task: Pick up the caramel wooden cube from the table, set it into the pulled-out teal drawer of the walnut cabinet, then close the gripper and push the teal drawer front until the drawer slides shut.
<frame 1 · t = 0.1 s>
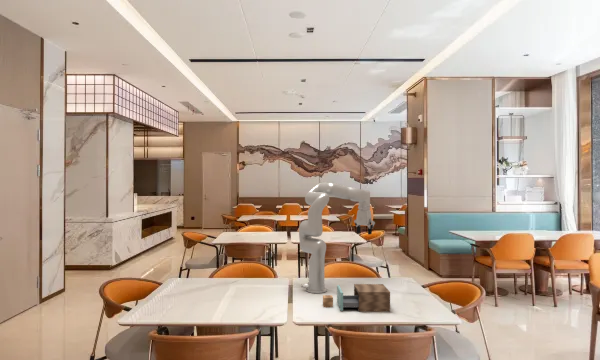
hand: (364, 233, 277), 31 cm above the table, tool pointing down, fingers open, 9 cm apart
teal drawer: (353, 297, 215), point 5 cm above the table, slide at 8.0 cm
cabinet: (371, 306, 216), on the table
cube: (327, 305, 217), on the table
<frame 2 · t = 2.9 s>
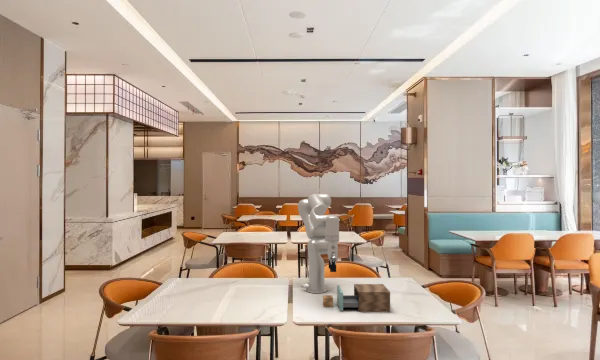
hand: (332, 270, 221), 18 cm above the table, tool pointing down, fingers open, 9 cm apart
nothing on the table moved.
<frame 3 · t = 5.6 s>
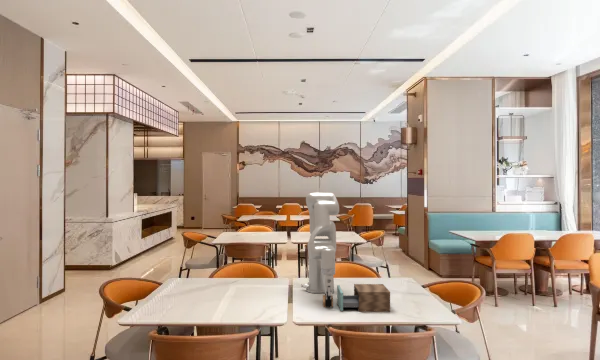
hand: (327, 304, 217), 0 cm above the table, tool pointing down, fingers closed on cube, 5 cm apart
cube: (327, 305, 217), on the table, touching gripper
everything else where it was.
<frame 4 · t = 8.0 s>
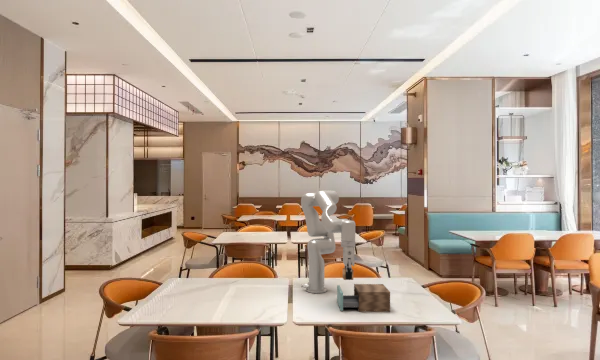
hand: (347, 277, 215), 15 cm above the table, tool pointing down, fingers closed on cube, 4 cm apart
cube: (347, 278, 215), point 15 cm above the table, touching gripper
everything else where it was.
when the fingers open (4 cm above the table, at t = 10.4 s): cube drops 1 cm, resting on teal drawer.
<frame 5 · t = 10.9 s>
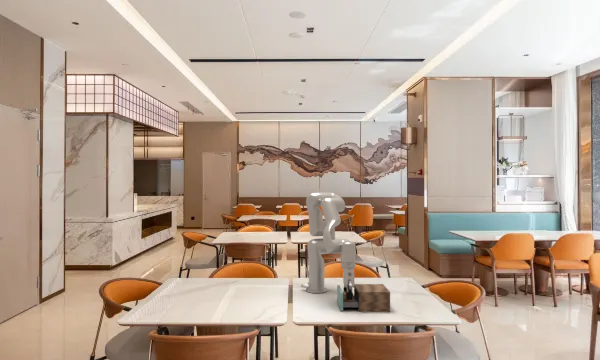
hand: (348, 297, 215), 5 cm above the table, tool pointing down, fingers open, 9 cm apart
teal drawer: (353, 297, 215), point 5 cm above the table, slide at 8.0 cm, touching cube
cube: (347, 302, 215), point 2 cm above the table, touching teal drawer
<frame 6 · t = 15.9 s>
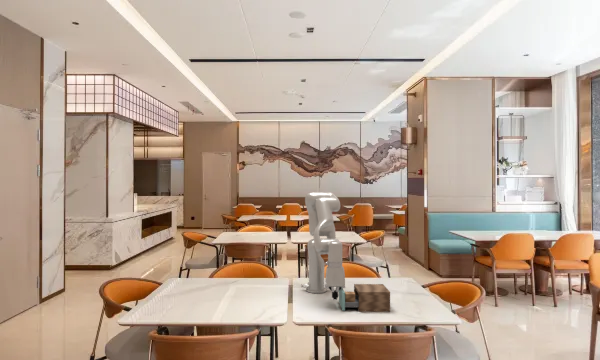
hand: (334, 299, 215), 4 cm above the table, tool pointing down, fingers closed
teal drawer: (355, 297, 215), point 5 cm above the table, slide at 7.0 cm, touching cube, gripper
everything else where it was.
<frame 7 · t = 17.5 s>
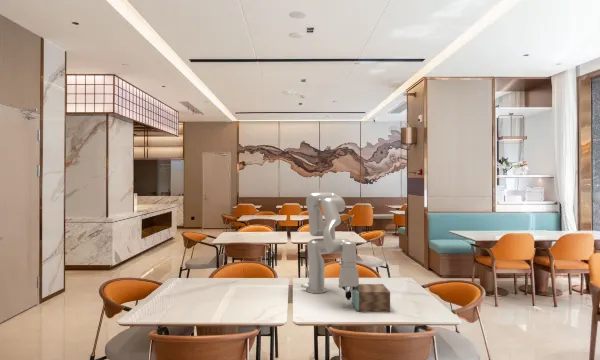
hand: (348, 299, 215), 4 cm above the table, tool pointing down, fingers closed
teal drawer: (369, 297, 216), point 5 cm above the table, slide at -0.2 cm, touching cube, gripper
cube: (363, 302, 216), point 2 cm above the table, touching teal drawer
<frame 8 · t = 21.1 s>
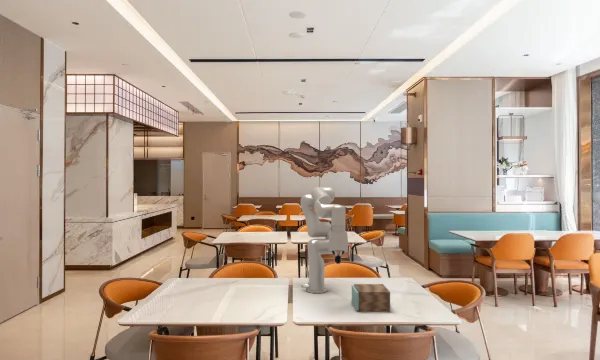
hand: (337, 263, 215), 23 cm above the table, tool pointing down, fingers closed
teal drawer: (368, 297, 216), point 5 cm above the table, slide at 0.0 cm, touching cube
everything else where it was.
at the end: teal drawer slide at 0.0 cm; cube inside the target area on the cabinet (4.5 cm from its centre), point 2.4 cm above the cabinet's base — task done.
